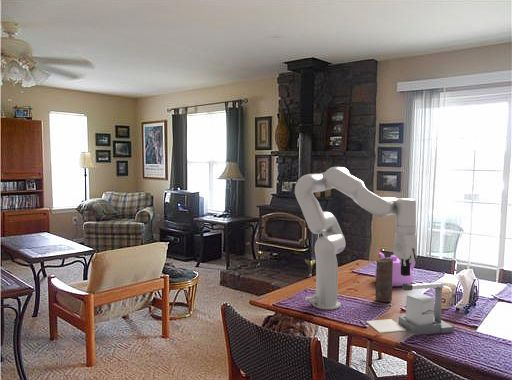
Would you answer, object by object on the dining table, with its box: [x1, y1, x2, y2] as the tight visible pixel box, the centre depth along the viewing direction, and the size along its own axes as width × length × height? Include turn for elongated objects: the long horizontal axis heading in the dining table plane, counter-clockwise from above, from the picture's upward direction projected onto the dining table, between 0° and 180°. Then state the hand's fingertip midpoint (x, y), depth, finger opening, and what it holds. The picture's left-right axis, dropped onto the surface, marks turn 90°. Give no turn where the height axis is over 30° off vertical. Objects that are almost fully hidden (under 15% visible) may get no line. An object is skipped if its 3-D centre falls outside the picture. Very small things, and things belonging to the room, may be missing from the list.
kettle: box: [374, 252, 416, 288], centre depth 219 cm, size 23×21×15 cm
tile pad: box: [366, 318, 407, 334], centre depth 159 cm, size 11×11×1 cm
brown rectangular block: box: [375, 257, 393, 302], centre depth 188 cm, size 8×7×20 cm
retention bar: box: [401, 281, 444, 291], centre depth 157 cm, size 17×3×2 cm, turn 101°
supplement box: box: [405, 292, 435, 326], centre depth 158 cm, size 7×7×13 cm
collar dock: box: [398, 288, 455, 336], centre depth 158 cm, size 16×12×15 cm
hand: (405, 275), depth 162 cm, fingers closed
